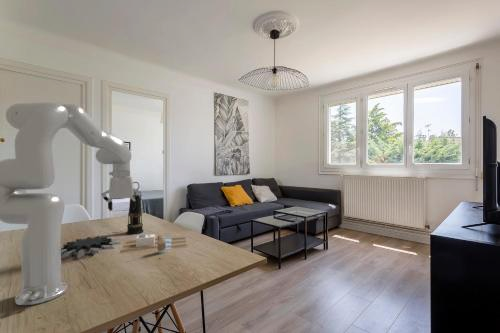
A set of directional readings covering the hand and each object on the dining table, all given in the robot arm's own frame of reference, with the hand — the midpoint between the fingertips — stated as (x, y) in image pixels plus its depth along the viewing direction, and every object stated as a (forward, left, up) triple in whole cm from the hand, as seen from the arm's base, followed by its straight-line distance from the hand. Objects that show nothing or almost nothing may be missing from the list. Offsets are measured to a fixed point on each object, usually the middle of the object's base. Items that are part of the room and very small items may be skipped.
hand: (122, 209), depth 121 cm
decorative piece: (+4, +16, -19) cm, 25 cm away
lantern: (+29, -2, -19) cm, 34 cm away
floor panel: (-1, -15, -19) cm, 24 cm away
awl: (-15, -18, -19) cm, 30 cm away
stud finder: (-1, -10, -17) cm, 20 cm away
